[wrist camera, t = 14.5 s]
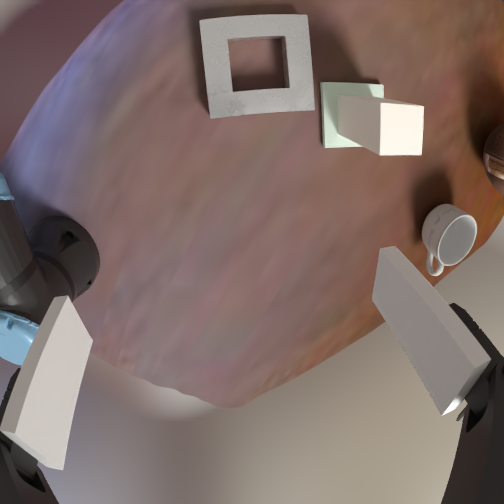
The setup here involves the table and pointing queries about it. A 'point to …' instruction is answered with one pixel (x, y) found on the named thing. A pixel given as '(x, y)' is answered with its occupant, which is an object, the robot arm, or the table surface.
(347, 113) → the peg
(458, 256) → the teacup
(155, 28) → the table surface
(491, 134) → the bronze metal ball
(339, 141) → the pad
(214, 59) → the socket plate
